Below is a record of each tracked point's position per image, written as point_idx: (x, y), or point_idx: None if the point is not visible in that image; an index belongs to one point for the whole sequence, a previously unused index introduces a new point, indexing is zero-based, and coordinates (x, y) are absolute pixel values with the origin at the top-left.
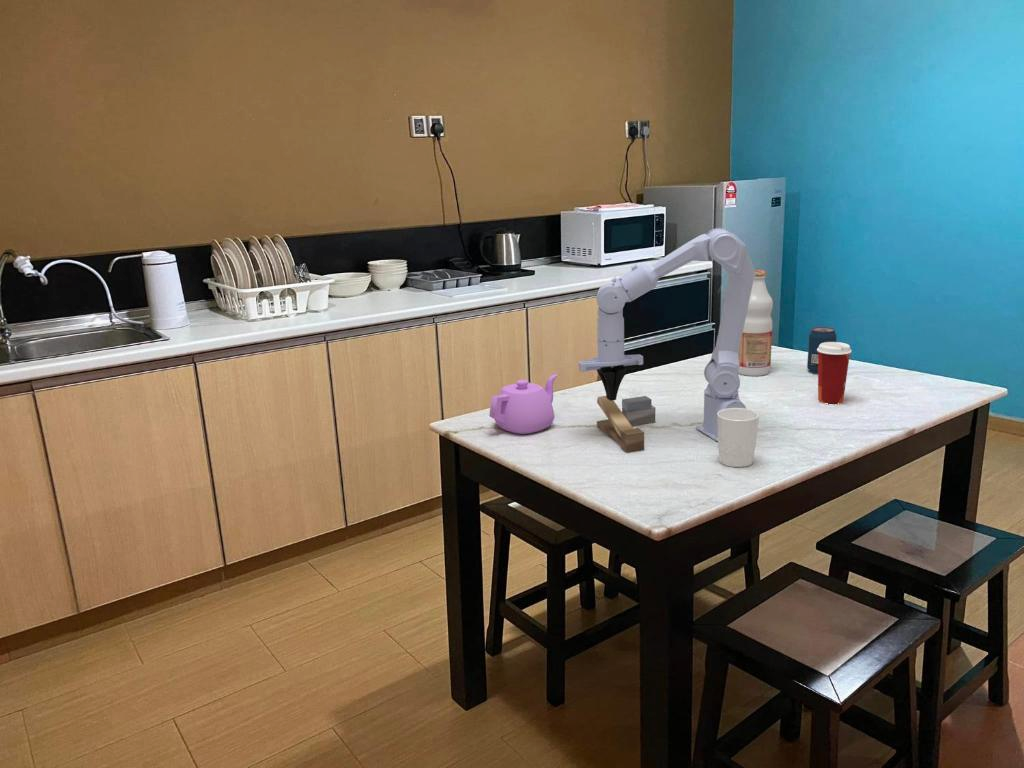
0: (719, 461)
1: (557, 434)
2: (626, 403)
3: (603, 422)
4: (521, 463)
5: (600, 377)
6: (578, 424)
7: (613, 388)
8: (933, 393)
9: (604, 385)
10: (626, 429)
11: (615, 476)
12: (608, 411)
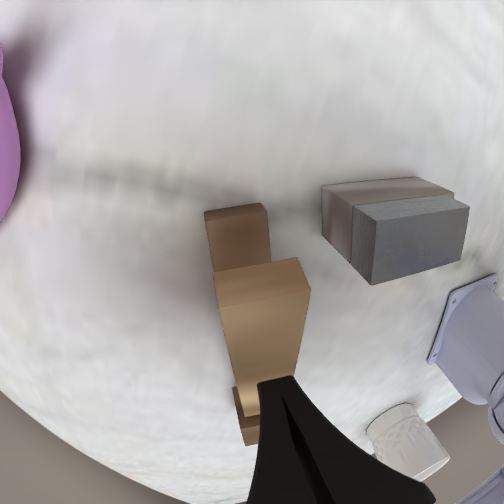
0: (369, 425)
1: (45, 256)
2: (369, 270)
3: (229, 246)
4: (12, 397)
5: (247, 501)
6: (131, 155)
7: (298, 456)
8: None
9: (261, 451)
10: None
11: (187, 462)
12: (239, 375)
